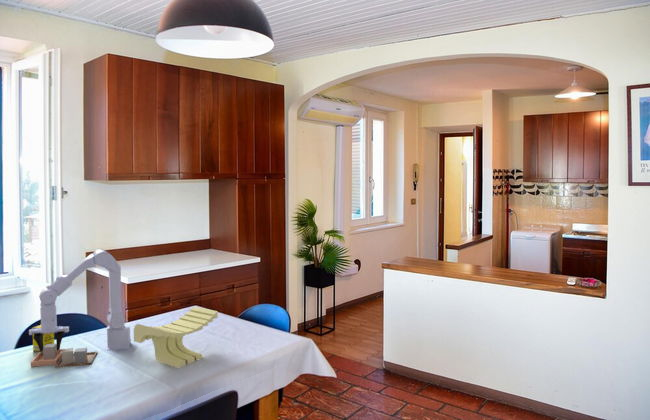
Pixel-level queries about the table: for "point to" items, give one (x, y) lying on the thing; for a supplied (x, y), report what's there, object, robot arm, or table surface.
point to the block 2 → (80, 355)
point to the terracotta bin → (43, 362)
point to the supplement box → (47, 339)
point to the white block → (67, 356)
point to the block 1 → (50, 351)
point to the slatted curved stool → (175, 336)
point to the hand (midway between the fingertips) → (50, 350)
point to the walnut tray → (89, 361)
